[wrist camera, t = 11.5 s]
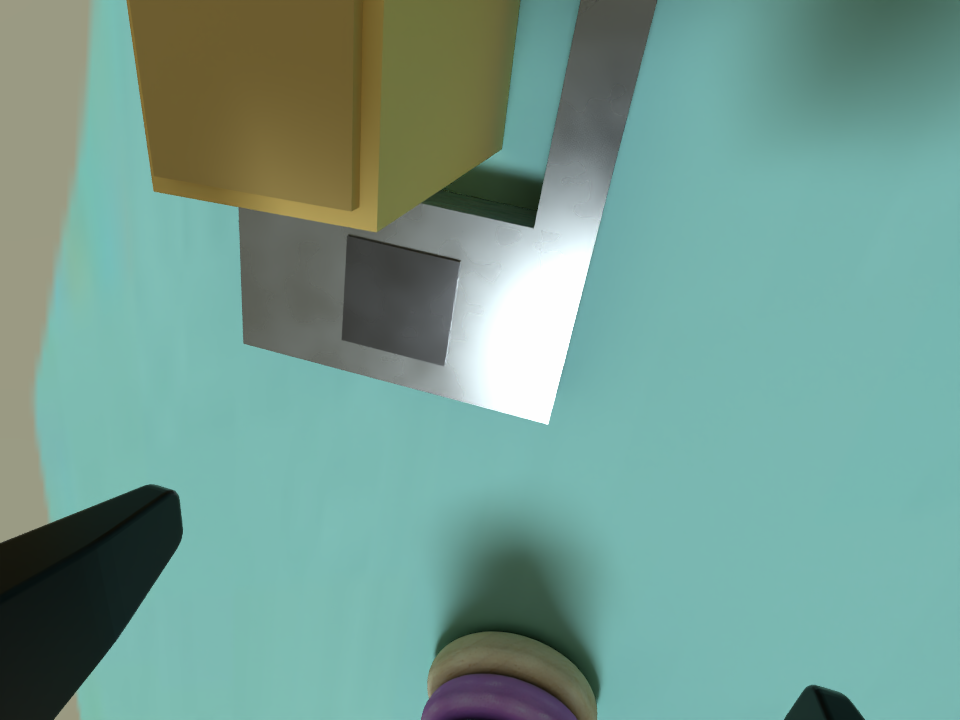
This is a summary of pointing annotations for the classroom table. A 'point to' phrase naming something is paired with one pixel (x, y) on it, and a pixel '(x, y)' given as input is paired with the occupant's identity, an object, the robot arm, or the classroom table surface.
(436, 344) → the grey metal flat frame
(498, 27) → the yellow square block
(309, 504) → the classroom table surface
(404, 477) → the classroom table surface
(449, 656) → the stacking toy
